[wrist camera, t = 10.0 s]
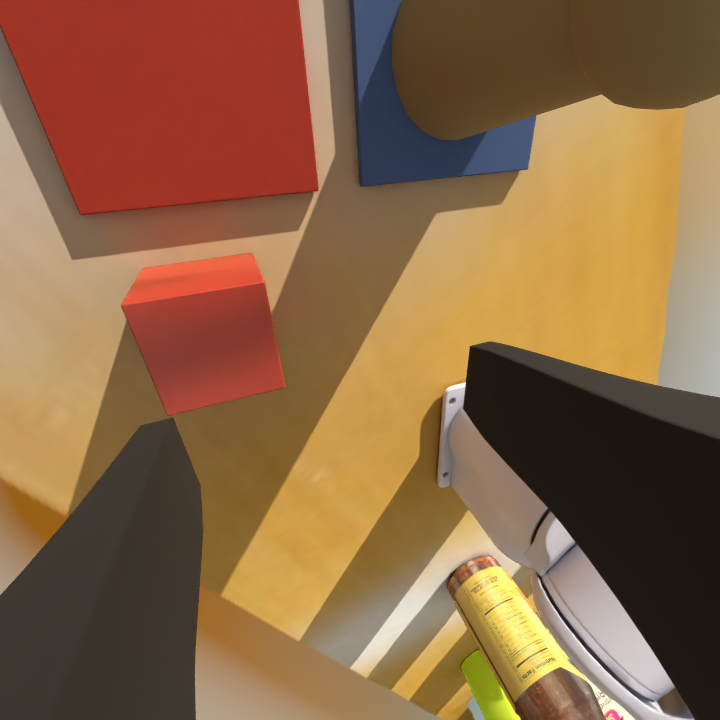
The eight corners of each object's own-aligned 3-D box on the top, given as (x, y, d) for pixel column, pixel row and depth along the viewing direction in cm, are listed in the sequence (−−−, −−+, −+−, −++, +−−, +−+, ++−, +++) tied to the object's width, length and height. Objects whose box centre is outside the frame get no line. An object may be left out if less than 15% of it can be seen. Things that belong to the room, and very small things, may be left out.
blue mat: (522, 169, 19) (528, 169, 19) (359, 185, 16) (362, 186, 16) (561, -89, 14) (569, -95, 14) (343, -118, 12) (346, -125, 12)
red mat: (316, 190, 16) (319, 190, 16) (83, 213, 14) (79, 215, 13) (282, -126, 11) (284, -134, 11) (-80, -173, 9) (-90, -185, 9)
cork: (397, 151, 16) (641, 148, 7) (383, -46, 13) (800, -521, 4) (513, 130, 17) (843, 104, 8) (526, -53, 14) (1087, -418, 5)
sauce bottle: (486, 581, 41) (671, 864, 24) (438, 598, 39) (606, 920, 22) (502, 542, 38) (725, 836, 22) (451, 558, 36) (656, 898, 19)
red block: (270, 341, 19) (285, 388, 15) (176, 361, 17) (167, 416, 14) (252, 252, 16) (264, 281, 13) (141, 268, 15) (119, 304, 11)
